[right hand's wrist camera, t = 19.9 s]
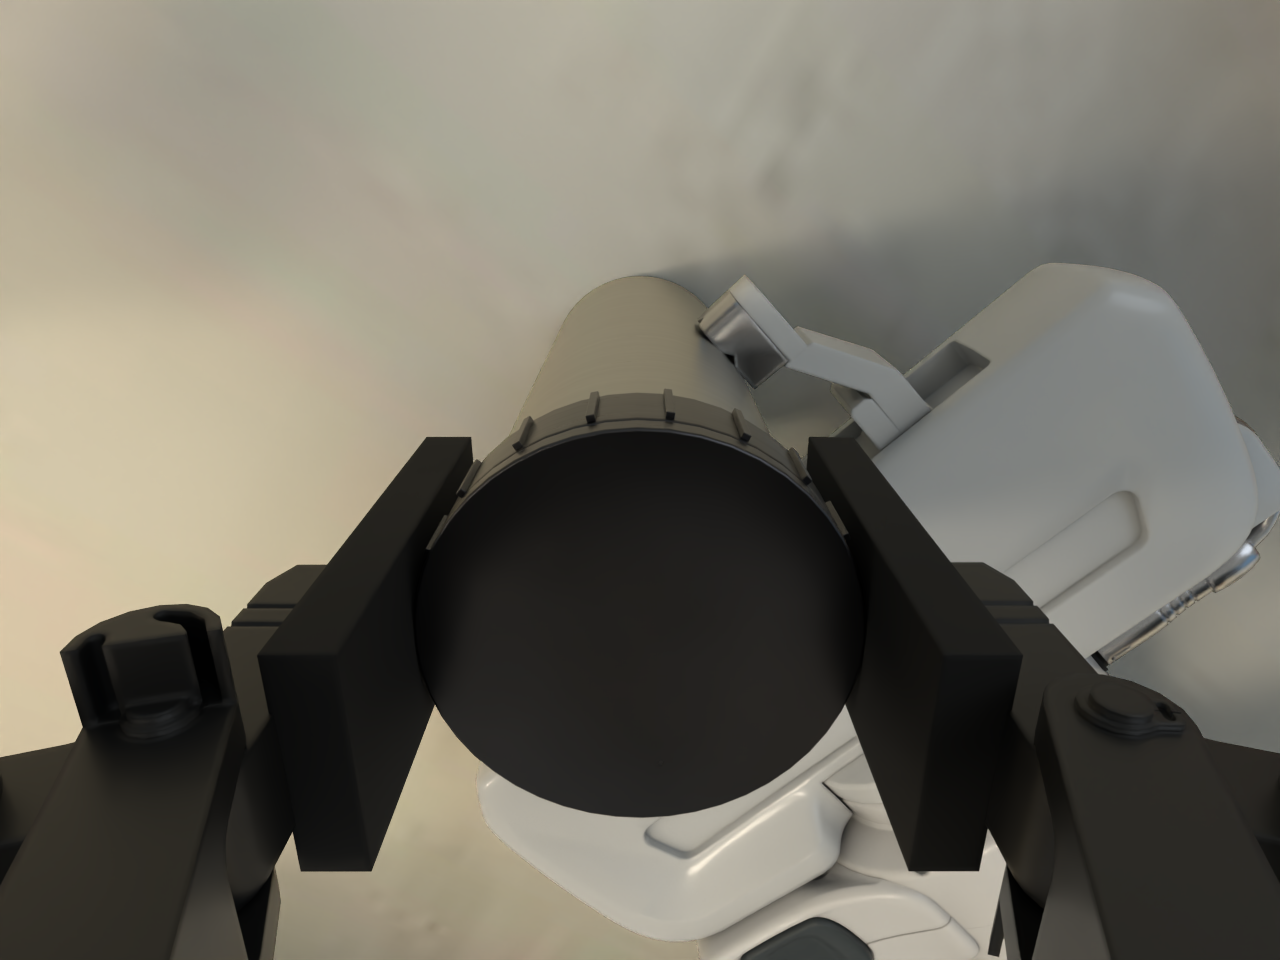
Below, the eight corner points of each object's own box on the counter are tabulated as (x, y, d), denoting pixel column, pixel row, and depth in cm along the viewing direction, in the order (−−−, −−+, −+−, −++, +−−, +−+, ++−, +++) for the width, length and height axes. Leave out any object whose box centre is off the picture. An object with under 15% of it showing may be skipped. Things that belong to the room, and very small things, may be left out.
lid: (353, 517, 11) (309, 571, 10) (720, 301, 10) (733, 326, 9) (576, 799, 13) (568, 880, 12) (908, 641, 12) (945, 708, 11)
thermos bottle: (626, 474, 26) (611, 819, 12) (519, 348, 24) (367, 582, 11) (759, 376, 25) (904, 638, 11) (655, 238, 23) (676, 344, 10)
